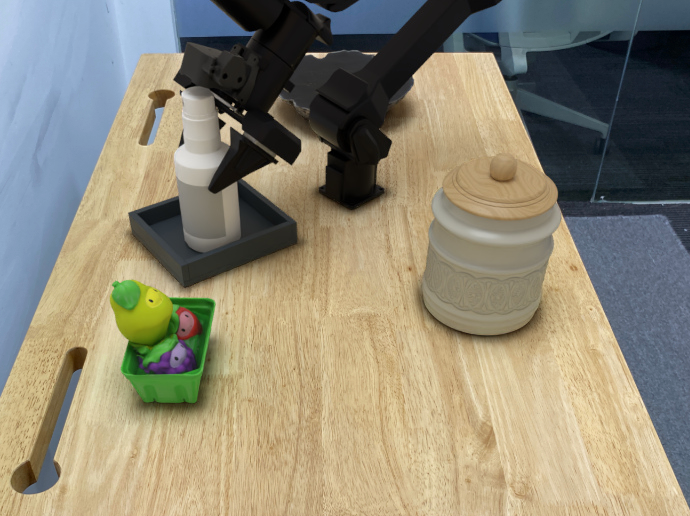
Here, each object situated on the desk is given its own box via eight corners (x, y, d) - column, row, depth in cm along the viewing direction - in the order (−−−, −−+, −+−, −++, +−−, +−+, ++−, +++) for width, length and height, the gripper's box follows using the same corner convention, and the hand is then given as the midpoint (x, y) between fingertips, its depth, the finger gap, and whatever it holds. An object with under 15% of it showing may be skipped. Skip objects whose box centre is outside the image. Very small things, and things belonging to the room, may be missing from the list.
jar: (418, 264, 91) (434, 122, 79) (529, 268, 90) (562, 125, 78) (422, 336, 82) (441, 187, 69) (546, 341, 81) (587, 191, 69)
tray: (239, 195, 102) (238, 175, 100) (297, 243, 94) (297, 221, 92) (131, 233, 95) (127, 212, 93) (184, 287, 88) (181, 266, 85)
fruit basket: (207, 413, 73) (194, 322, 66) (115, 412, 74) (91, 320, 66) (221, 335, 82) (211, 246, 74) (137, 334, 82) (118, 244, 74)
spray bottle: (180, 228, 95) (159, 83, 82) (234, 219, 96) (222, 76, 84) (190, 259, 90) (170, 110, 78) (247, 249, 92) (236, 102, 79)
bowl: (417, 142, 112) (420, 109, 109) (267, 141, 112) (265, 107, 109) (406, 80, 128) (409, 49, 125) (275, 79, 128) (274, 47, 125)
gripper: (178, -14, 83) (102, 112, 86) (273, 40, 72) (182, 181, 75) (245, 45, 91) (175, 157, 94) (339, 100, 80) (256, 225, 84)
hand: (194, 177), depth 87 cm, fingers open, 7 cm apart
